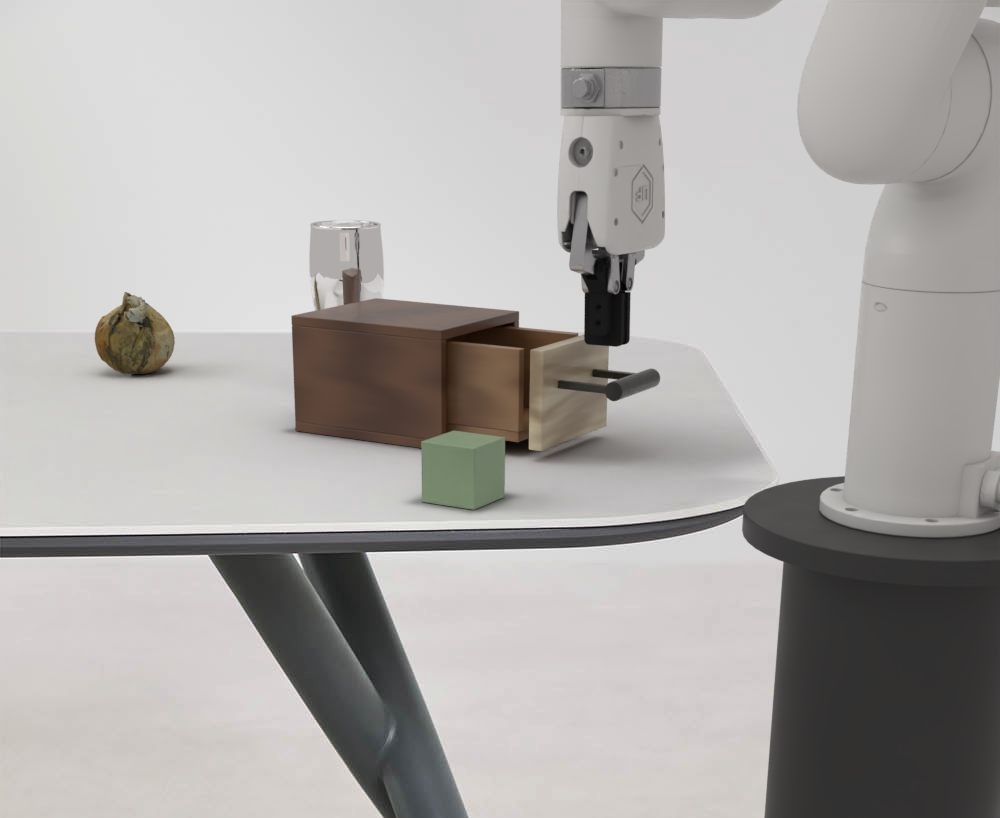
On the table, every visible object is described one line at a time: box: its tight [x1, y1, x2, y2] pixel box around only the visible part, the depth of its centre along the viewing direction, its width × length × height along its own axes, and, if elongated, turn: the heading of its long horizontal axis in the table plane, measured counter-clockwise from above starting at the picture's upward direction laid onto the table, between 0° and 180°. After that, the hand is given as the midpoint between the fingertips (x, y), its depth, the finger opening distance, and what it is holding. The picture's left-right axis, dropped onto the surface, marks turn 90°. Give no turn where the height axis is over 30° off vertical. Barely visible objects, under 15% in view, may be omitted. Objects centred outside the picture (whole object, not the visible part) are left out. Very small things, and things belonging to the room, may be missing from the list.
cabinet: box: [291, 298, 520, 449], centre depth 145 cm, size 15×13×10 cm
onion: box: [94, 291, 176, 376], centre depth 169 cm, size 8×8×8 cm
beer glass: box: [308, 219, 385, 311], centre depth 161 cm, size 7×7×15 cm
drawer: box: [445, 325, 661, 452], centre depth 139 cm, size 19×11×8 cm, turn 60°
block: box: [420, 431, 506, 511], centre depth 123 cm, size 4×4×4 cm
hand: (606, 343), depth 135 cm, fingers closed
